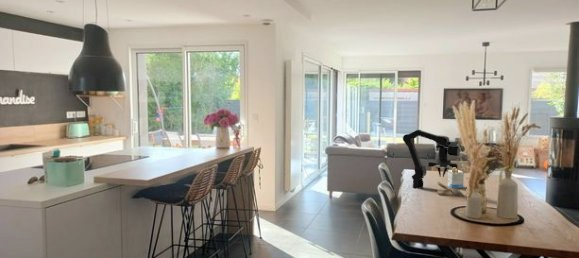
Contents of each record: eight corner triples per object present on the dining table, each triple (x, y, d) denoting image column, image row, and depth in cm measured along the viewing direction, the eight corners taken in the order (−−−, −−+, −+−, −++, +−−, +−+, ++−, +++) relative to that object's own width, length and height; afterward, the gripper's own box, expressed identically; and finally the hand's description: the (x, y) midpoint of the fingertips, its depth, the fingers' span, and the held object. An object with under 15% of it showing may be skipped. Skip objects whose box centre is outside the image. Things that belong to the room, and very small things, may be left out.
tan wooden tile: (454, 196, 265) (454, 194, 265) (449, 189, 283) (449, 188, 283) (463, 196, 264) (463, 195, 264) (458, 190, 282) (458, 188, 281)
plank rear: (438, 185, 277) (439, 183, 277) (437, 182, 284) (438, 181, 283) (450, 192, 276) (451, 190, 275) (448, 189, 282) (449, 188, 282)
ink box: (463, 188, 288) (464, 169, 287) (451, 188, 288) (452, 169, 287) (458, 185, 297) (459, 167, 295) (447, 185, 297) (448, 167, 296)
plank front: (438, 194, 267) (438, 192, 267) (437, 192, 274) (437, 190, 274) (452, 195, 265) (453, 193, 265) (451, 193, 272) (451, 191, 272)
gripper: (429, 155, 271) (428, 178, 272) (459, 157, 266) (457, 180, 268) (428, 153, 282) (426, 175, 283) (456, 154, 277) (455, 177, 279)
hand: (441, 177), depth 278 cm, fingers closed
